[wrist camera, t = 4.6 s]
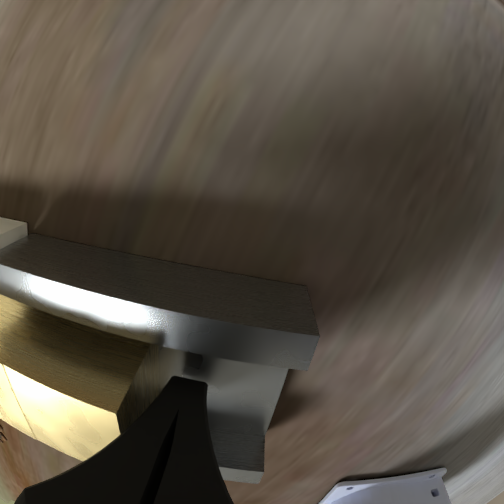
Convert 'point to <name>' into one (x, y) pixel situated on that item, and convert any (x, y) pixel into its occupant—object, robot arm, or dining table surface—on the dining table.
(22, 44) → the dining table surface
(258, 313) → the rail
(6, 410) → the brass chip
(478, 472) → the dining table surface
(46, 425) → the brass chip
